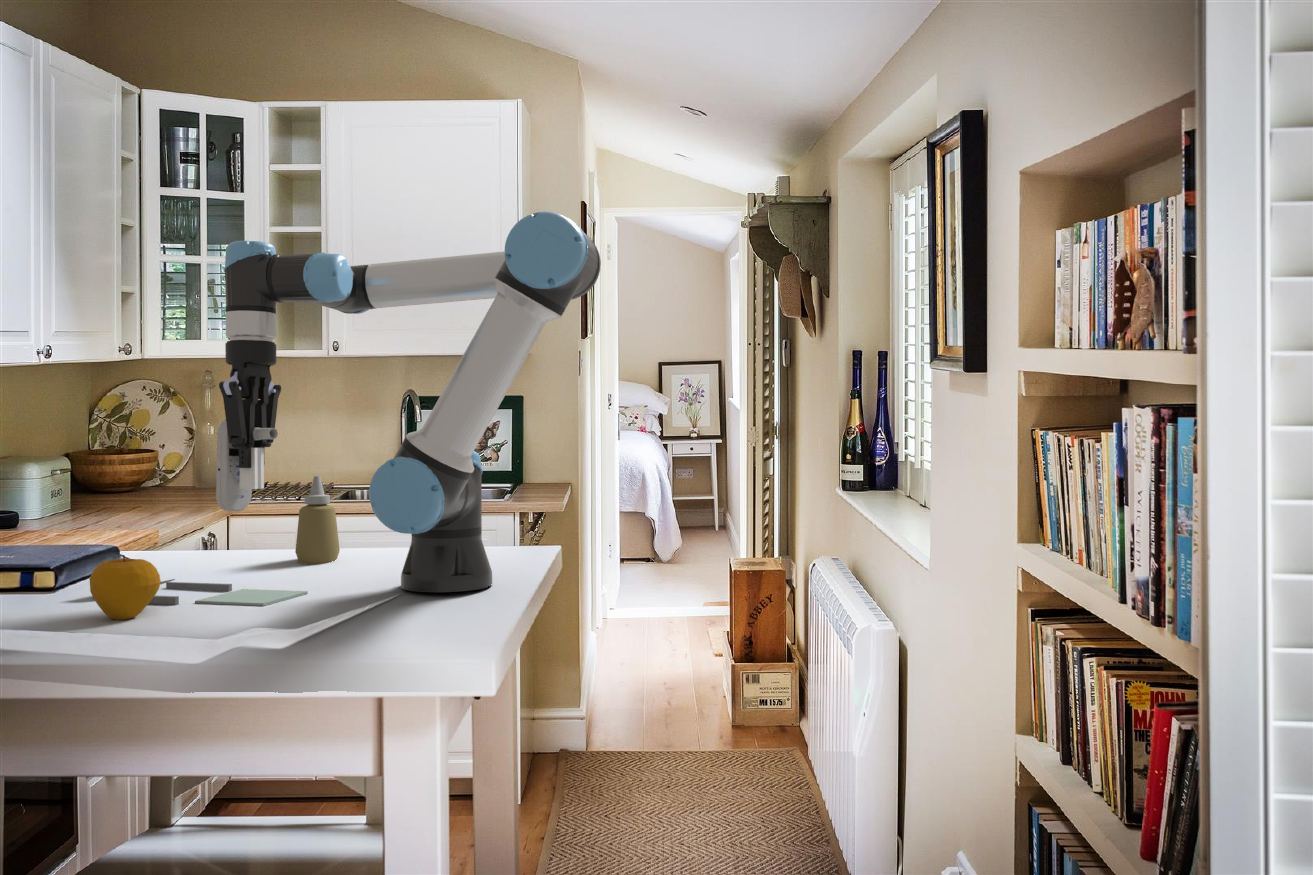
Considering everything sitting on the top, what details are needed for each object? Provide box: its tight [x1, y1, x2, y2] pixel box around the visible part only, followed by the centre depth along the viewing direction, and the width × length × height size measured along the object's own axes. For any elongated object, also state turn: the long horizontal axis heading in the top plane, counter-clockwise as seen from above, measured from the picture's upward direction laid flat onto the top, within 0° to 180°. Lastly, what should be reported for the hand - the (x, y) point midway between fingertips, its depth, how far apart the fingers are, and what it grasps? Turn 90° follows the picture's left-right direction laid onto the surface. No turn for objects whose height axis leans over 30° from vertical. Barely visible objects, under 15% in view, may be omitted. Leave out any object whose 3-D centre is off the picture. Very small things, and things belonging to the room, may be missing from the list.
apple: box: [89, 555, 162, 621], centre depth 145 cm, size 9×9×9 cm
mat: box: [194, 588, 309, 607], centre depth 161 cm, size 12×12×1 cm
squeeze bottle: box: [294, 475, 341, 565], centre depth 194 cm, size 8×8×18 cm
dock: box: [92, 578, 233, 606], centre depth 167 cm, size 17×19×4 cm
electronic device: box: [215, 418, 279, 512], centre depth 161 cm, size 5×10×15 cm, turn 64°
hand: (252, 488), depth 161 cm, fingers closed on electronic device
